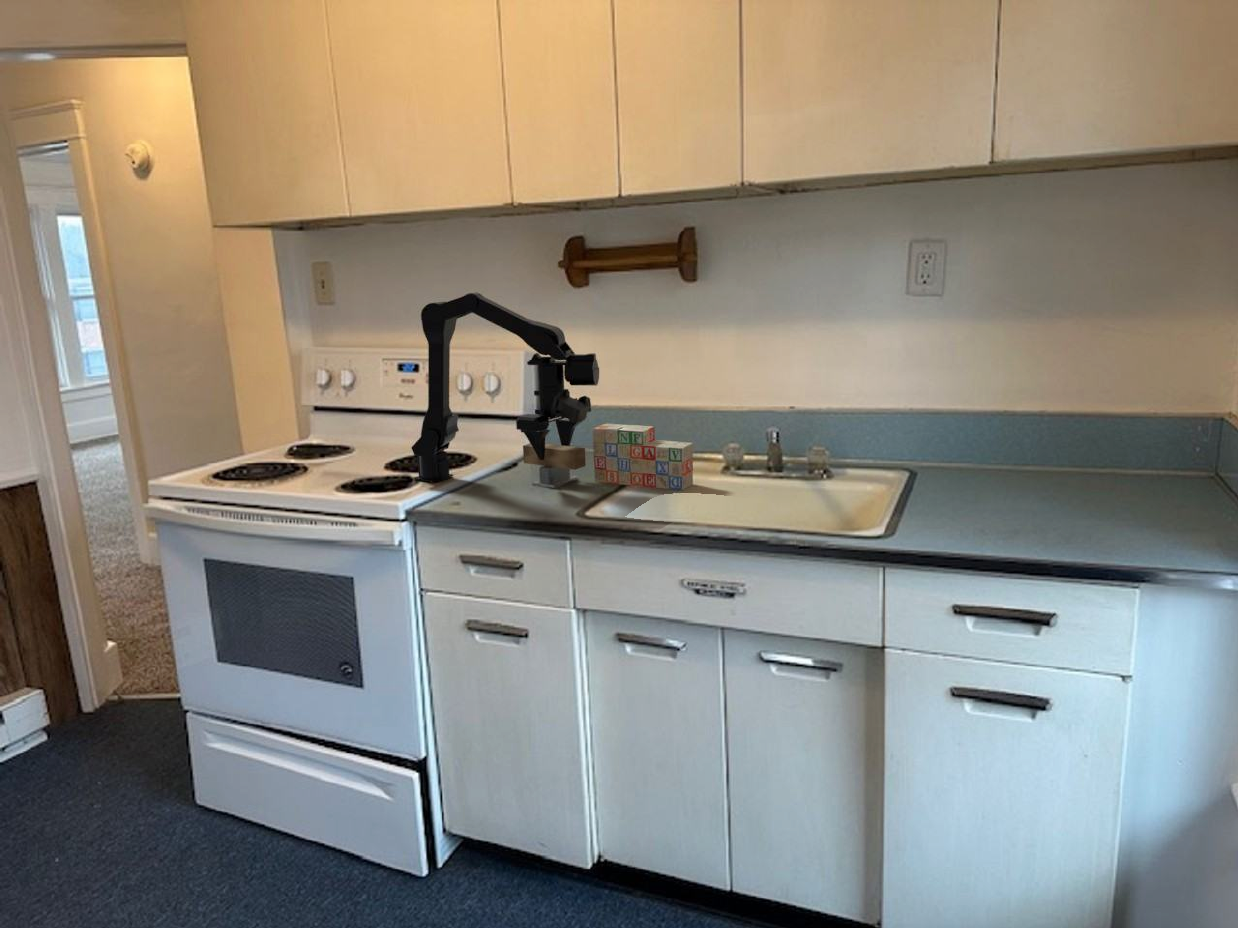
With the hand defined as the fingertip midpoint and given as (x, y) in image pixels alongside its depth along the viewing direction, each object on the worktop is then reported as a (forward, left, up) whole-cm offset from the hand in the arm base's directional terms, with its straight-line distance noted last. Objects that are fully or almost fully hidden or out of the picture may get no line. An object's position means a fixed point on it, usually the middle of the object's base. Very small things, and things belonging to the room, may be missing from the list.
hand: (554, 455), depth 191 cm
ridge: (0, 0, -6) cm, 6 cm away
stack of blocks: (+18, +8, -6) cm, 21 cm away
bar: (0, 0, -2) cm, 2 cm away
